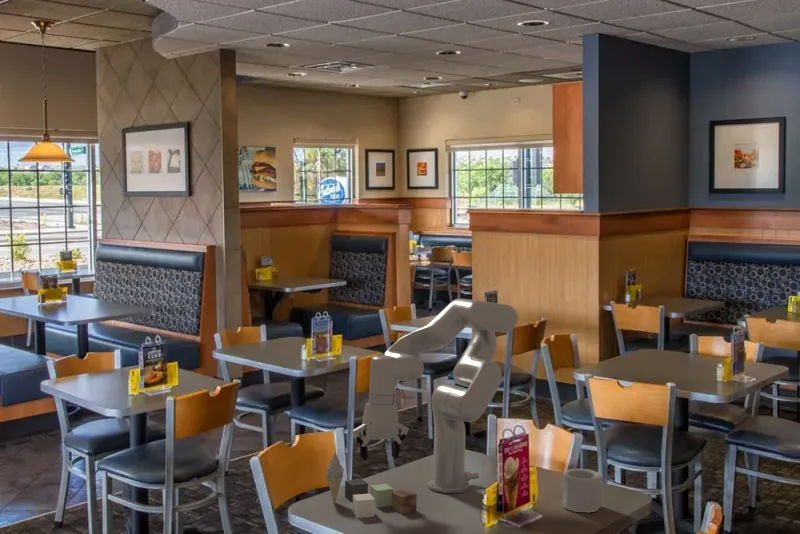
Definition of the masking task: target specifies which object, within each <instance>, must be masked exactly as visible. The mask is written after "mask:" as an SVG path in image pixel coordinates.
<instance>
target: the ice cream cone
mask: <svg viewBox="0 0 800 534" xmlns="http://www.w3.org/2000/svg"><path fill="white" fill-rule="evenodd" d="M340 461H341V460H339V458H338V455H337V452H336V451H334V454H333V456H332V458H331V459H330V465H328V466H327V468H326V472H327V473H326V474H325V477H326V480H327V484H328V488H329V490H330V495H331V499H332V503H333V504H334V503H336V501H337V498H338V493H339V491H340V486H341V483H342V480H343V476H344V467H343V466H342V464H341V463H340Z"/></svg>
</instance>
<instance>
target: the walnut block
mask: <svg viewBox="0 0 800 534" xmlns="http://www.w3.org/2000/svg"><path fill="white" fill-rule="evenodd" d="M417 498H418V494H417V493H416V492H414V491H412V490H410V489H407V488H405V489H400V490H395V491H394V490H393V492H392V506H391V509H392V510H393V511H395V512H398V513H399V514H400V515H404V514H405V515H406V514H408V513H409V514H410V513H413V512H417V507H418V506H417V504H418V503H417V502H418V501H417V500H418V499H417Z"/></svg>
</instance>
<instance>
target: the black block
mask: <svg viewBox="0 0 800 534" xmlns="http://www.w3.org/2000/svg"><path fill="white" fill-rule="evenodd" d="M358 494H369V483H368V482H367V481H365V480H364V479H362V478H355V479H348V480H345V481H344V498H345V499H346V500H348V501H350V502H351V503H353V495H358Z"/></svg>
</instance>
